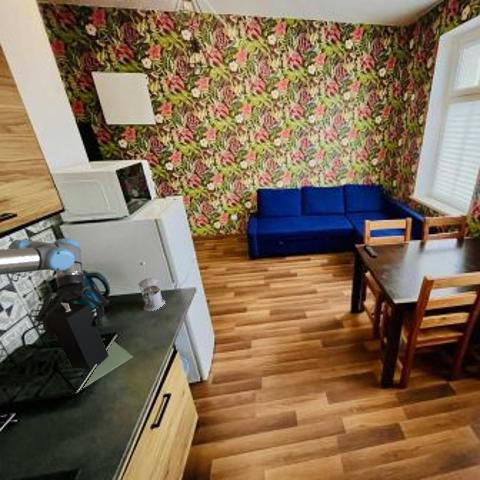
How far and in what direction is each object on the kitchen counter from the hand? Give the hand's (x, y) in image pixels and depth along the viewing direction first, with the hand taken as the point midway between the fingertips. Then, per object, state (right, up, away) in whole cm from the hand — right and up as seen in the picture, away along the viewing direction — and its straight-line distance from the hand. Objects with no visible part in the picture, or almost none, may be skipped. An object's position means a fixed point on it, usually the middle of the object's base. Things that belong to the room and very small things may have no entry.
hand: (76, 331), depth 96 cm
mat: (0, -14, +8) cm, 16 cm away
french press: (+2, 0, +41) cm, 41 cm away
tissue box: (0, -14, +7) cm, 16 cm away
